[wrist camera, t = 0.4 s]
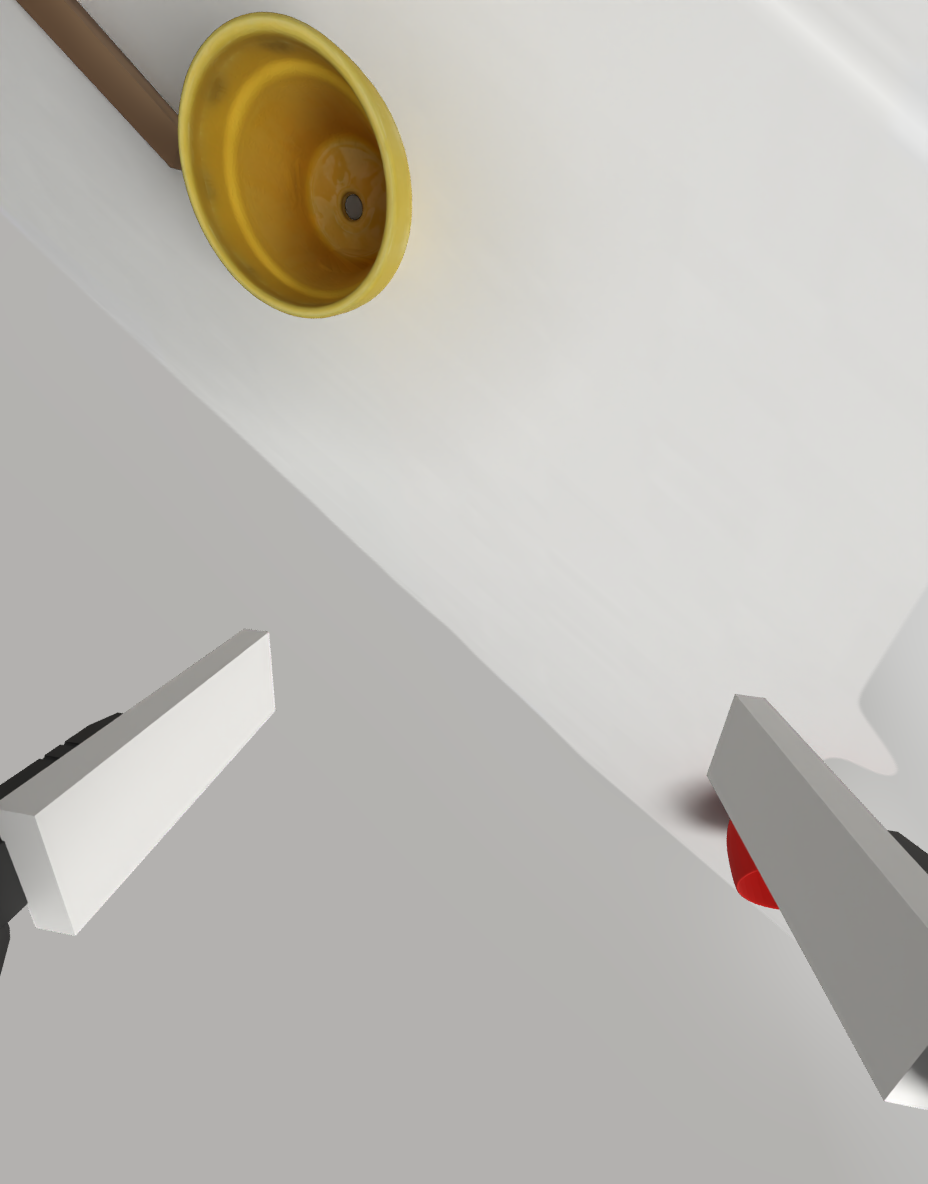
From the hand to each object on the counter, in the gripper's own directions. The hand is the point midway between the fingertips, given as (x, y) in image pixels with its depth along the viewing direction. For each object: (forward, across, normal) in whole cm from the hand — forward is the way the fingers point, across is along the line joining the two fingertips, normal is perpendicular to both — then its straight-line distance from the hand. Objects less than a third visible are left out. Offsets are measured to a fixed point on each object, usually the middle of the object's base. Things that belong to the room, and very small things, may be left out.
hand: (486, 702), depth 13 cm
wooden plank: (+21, -27, +26) cm, 43 cm away
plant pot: (+23, -12, +20) cm, 32 cm away
